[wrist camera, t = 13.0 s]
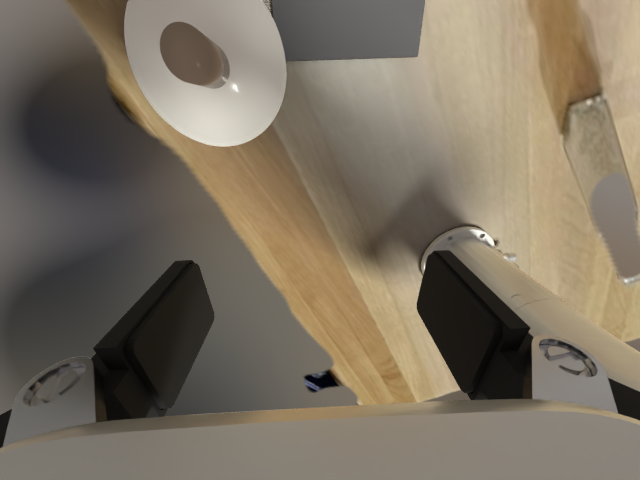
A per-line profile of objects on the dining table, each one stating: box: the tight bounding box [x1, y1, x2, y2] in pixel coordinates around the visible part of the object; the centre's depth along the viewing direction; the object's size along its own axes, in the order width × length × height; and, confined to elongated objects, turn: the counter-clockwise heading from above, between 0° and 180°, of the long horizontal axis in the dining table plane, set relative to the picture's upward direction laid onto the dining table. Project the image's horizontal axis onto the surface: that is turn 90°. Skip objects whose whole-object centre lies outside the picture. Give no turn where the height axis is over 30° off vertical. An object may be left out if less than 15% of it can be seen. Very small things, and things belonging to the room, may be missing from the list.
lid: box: [124, 0, 287, 147], centre depth 20 cm, size 14×14×6 cm
